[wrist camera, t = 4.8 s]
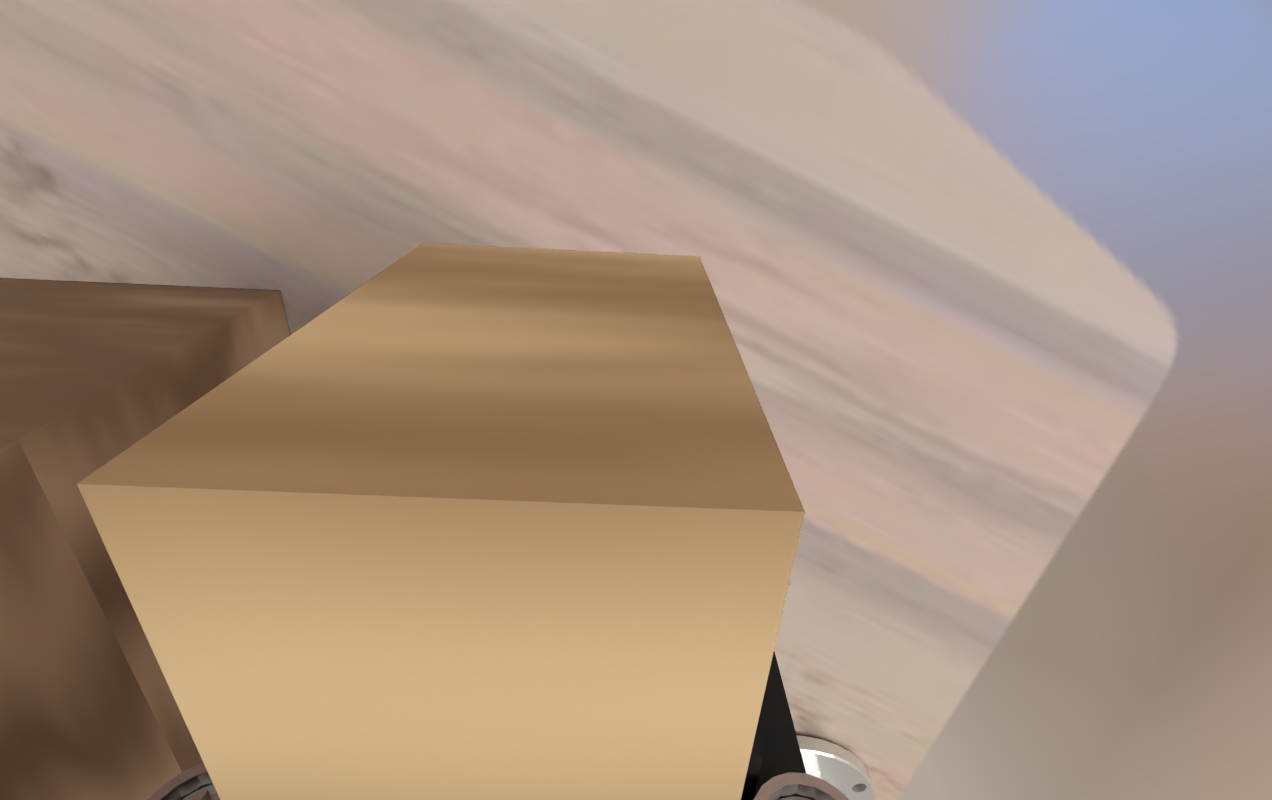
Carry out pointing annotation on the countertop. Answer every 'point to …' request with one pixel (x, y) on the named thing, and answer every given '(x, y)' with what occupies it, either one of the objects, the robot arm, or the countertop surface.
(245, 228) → the countertop surface
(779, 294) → the countertop surface
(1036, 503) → the countertop surface
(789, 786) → the robot arm
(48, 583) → the wooden crate
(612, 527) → the tan rectangular block
